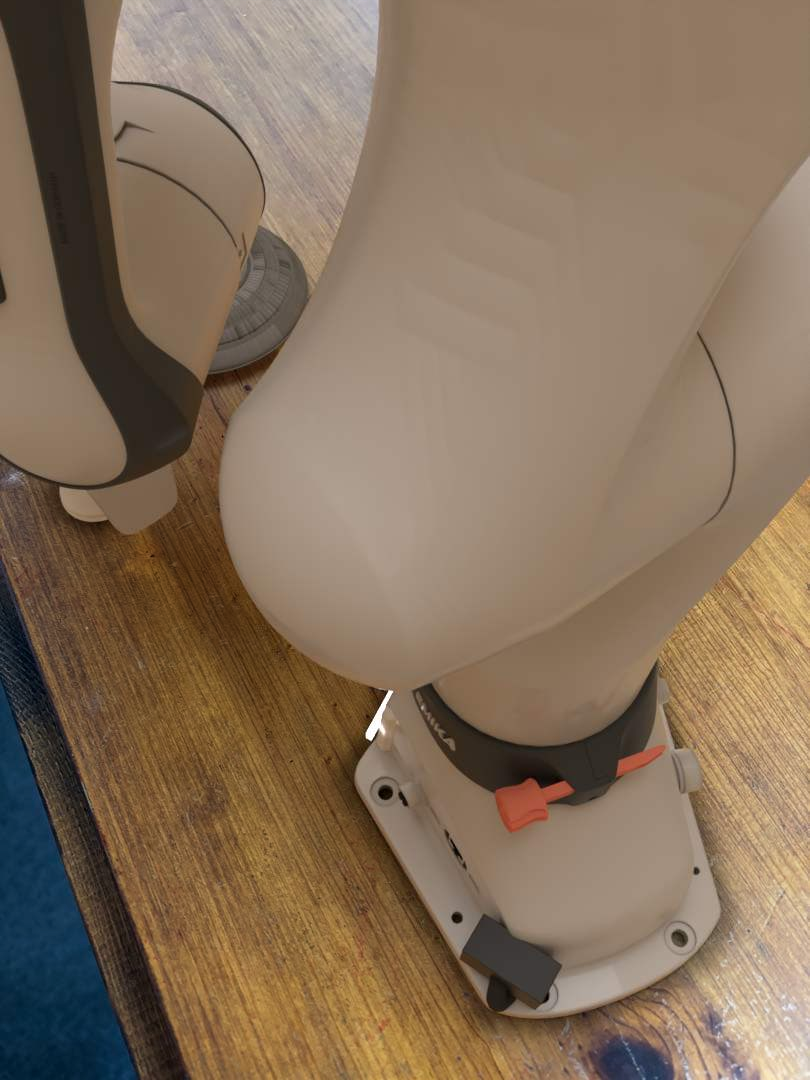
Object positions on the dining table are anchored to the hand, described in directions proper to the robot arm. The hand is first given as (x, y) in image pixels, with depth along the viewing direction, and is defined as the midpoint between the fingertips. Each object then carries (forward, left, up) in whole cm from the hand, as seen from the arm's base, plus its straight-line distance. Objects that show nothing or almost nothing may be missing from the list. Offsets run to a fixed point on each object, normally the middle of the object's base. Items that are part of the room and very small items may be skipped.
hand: (85, 460), depth 68 cm
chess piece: (0, 0, -4) cm, 4 cm away
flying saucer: (+13, -11, -4) cm, 17 cm away
